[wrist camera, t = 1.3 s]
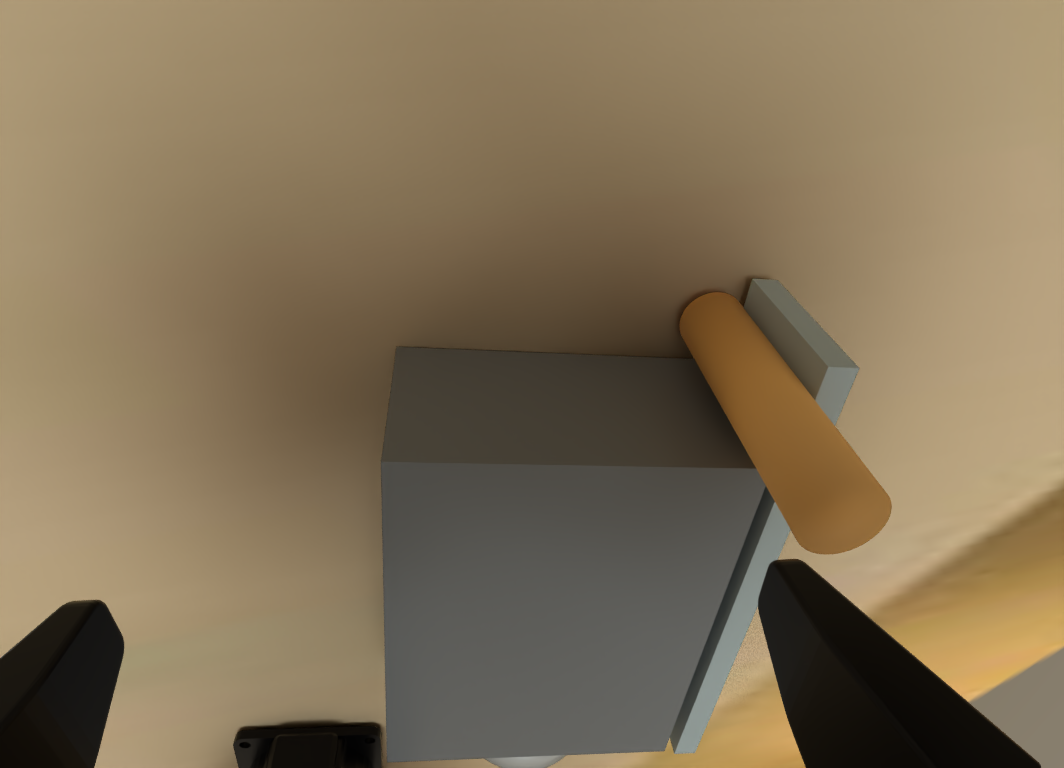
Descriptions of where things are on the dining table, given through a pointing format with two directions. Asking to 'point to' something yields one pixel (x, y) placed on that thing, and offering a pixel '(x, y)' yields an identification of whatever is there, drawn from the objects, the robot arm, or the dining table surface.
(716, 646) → the grey and orange bar
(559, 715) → the block
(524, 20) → the dining table surface
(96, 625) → the robot arm
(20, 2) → the dining table surface
